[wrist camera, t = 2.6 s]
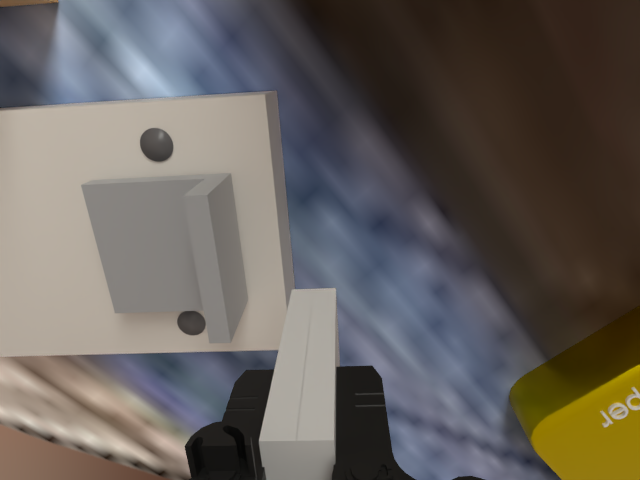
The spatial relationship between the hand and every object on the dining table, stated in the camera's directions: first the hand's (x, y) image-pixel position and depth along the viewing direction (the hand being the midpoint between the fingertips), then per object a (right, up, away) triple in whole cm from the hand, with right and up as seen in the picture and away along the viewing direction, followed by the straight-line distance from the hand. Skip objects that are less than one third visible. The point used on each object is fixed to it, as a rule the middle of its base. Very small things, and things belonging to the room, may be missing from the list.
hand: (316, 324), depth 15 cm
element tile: (+23, -8, +16) cm, 29 cm away
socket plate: (-11, +4, +12) cm, 16 cm away
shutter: (-8, +3, +8) cm, 11 cm away
